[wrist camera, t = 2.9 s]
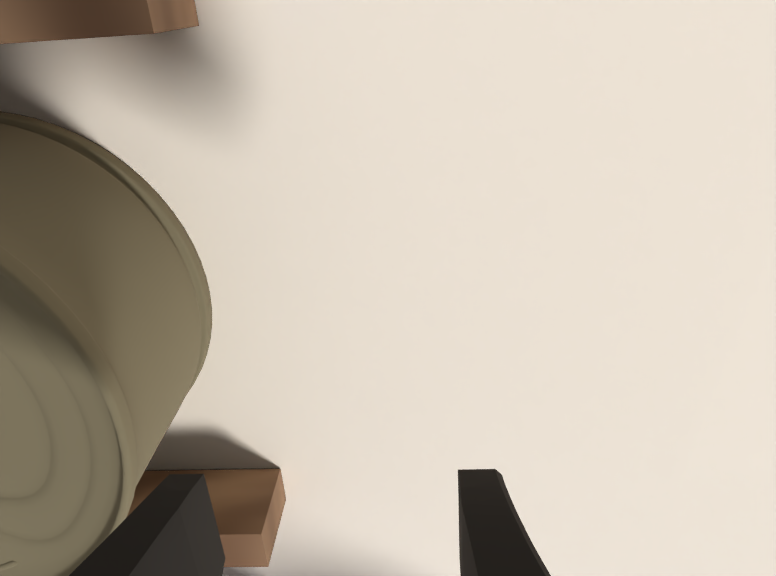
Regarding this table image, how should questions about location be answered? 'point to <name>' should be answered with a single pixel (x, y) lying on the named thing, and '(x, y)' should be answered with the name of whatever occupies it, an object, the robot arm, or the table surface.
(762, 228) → the table surface
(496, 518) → the robot arm
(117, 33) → the bay
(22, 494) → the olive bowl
